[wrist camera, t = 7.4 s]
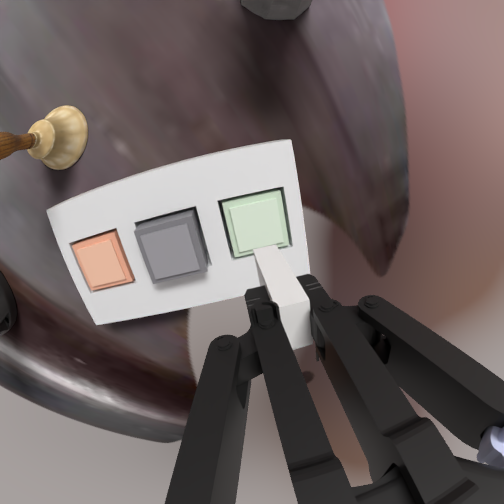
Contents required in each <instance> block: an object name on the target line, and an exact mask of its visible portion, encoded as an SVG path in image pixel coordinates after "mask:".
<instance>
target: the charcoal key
mask: <svg viewBox="0 0 504 504" xmlns="http://www.w3.org/2000/svg"><path fill="white" fill-rule="evenodd" d="M134 234H135V237H136V240H137V243H138V246H139V248H140V251H141V254H142V257H143V260H144V262H145V265H146V268H147V270H148V273H149V275H150V278H151V281H152V283H153V284H156V283H161V282H165V281H170V280H174V279H179V278H183V277H187V276H192V275H196V274H200V273H205V272H207V271H208V258H207V255H206V251H205V248H204V244H203V241H202V237H201V233H200V230H199V226H198V222H197V219H196V215H195V211H194V208H193V209H189V210H185V211H181V212H177V213H174V214H170V215H166V216H162V217H159V218H155V219H151V220H148V221H144V222H141V223H140V224H139V225H138V227H137V228H136V229H135V230H134Z"/></svg>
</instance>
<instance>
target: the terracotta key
mask: <svg viewBox="0 0 504 504" xmlns="http://www.w3.org/2000/svg"><path fill="white" fill-rule="evenodd" d="M72 247H73V250H74V252H75V255H76V257H77V259H78V262H79V264H80V267H81V269H82V271H83V273H84V276H85V278H86V280H87V282H88V285H89V287H90V289H91V291H92V290H97V289H101V288H105V287H110V286H114V285H118V284H123V283H127V282H131V281H133V280H134V278H135V277H134V274H133V272H132V269H131V267H130V264H129V262H128V259H127V256H126V254H125V251H124V248H123V246H122V243H121V240H120V237H119V234H118V232H117V229H116V228H114V229H111V230H108V231H105V232H101V233H98V234H95V235H92V236H89V237H86V238H83V239H80V240H78V241H77V242H76V243H75V244H74V245H72Z"/></svg>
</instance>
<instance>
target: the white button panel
mask: <svg viewBox="0 0 504 504" xmlns="http://www.w3.org/2000/svg"><path fill="white" fill-rule="evenodd" d="M273 188H277V189H279V190H280V191H281V196H282V202H283V208H284V215H285V221H286V227H287V233H288V240H289V245H286V246H282V247H278V249H279V250H280V252H281V254H282V255H283V257H284V258H285V260H286V262H287V263H288V265H289V267H290V268H291V270H292V271H293V273H294V275H295V276H296V277H297V276H301V275H305V274H310V268H309V258H308V250H307V242H306V233H305V226H304V219H303V211H302V204H301V197H300V190H299V184H298V177H297V171H296V165H295V159H294V153H293V147H292V142H291V140H276V141H270V142H264V143H258V144H253V145H248V146H243V147H238V148H233V149H229V150H224V151H219V152H215V153H211V154H207V155H203V156H198V157H194V158H191V159H187V160H183V161H179V162H176V163H172V164H168V165H165V166H161V167H158V168H155V169H151V170H148V171H145V172H142V173H139V174H135V175H132V176H129V177H126V178H123V179H120V180H118V181H115V182H112V183H109V184H106V185H103V186H101V187H98V188H95V189H93V190H90V191H88V192H85V193H82V194H80V195H77V196H75V197H72V198H70V199H68V200H65V201H63V202H61V203H59V204H57V205H55V206H53V207H51V208H50V209H48V210H46V211H47V214H48V217H49V220H50V223H51V226H52V229H53V232H54V234H55V237H56V240H57V242H58V245H59V247H60V250H61V253H62V255H63V257H64V260H65V262H66V265H67V267H68V269H69V271H70V274H71V276H72V278H73V280H74V282H75V285H76V287H77V289H78V291H79V293H80V295H81V297H82V299H83V301H84V303H85V305H86V307H87V309H88V311H89V313H90V314H91V316H92V318H93V320H94V322H95V324H96V325H100V324H106V323H112V322H118V321H124V320H129V319H135V318H140V317H145V316H151V315H156V314H161V313H166V312H171V311H176V310H181V309H186V308H191V307H195V306H200V305H205V304H209V303H214V302H218V301H223V300H227V299H232V298H236V297H240V296H244V295H245V293H246V290H247V289H251V288H255V287H259V286H260V283H259V278H258V273H257V268H256V263H255V258H254V253H252V254H248V255H243V256H239V257H235V256H234V251H233V247H232V243H231V239H230V235H229V231H228V227H227V222H226V218H225V214H224V210H223V205H222V199H227V198H231V197H236V196H240V195H244V194H249V193H254V192H258V191H263V190H268V189H273ZM193 208H194V211H195V215H196V219H197V222H198V226H199V230H200V233H201V237H202V241H203V244H204V248H205V251H206V255H207V258H208V271H207V272H205V273H200V274H196V275H192V276H187V277H183V278H179V279H174V280H170V281H165V282H161V283H156V284H153V283H152V281H151V278H150V275H149V273H148V270H147V268H146V265H145V262H144V260H143V257H142V254H141V251H140V248H139V246H138V243H137V240H136V237H135V234H134V230H135V229H136V228H137V227H138V225H139V224H140V223H141V222H144V221H148V220H151V219H155V218H159V217H162V216H166V215H170V214H174V213H177V212H181V211H185V210H189V209H193ZM114 228H116V229H117V232H118V234H119V237H120V240H121V243H122V246H123V248H124V251H125V254H126V256H127V259H128V262H129V264H130V267H131V269H132V272H133V274H134V277H135V278H134V280H133V281H131V282H127V283H123V284H118V285H114V286H110V287H105V288H101V289H97V290H92V291H91V289H90V287H89V285H88V282H87V280H86V278H85V276H84V273H83V271H82V269H81V267H80V264H79V262H78V259H77V257H76V255H75V252H74V250H73V247H72V245H74V244H75V243H76V242H77V241H78V240H80V239H83V238H86V237H89V236H92V235H95V234H98V233H101V232H105V231H108V230H111V229H114Z"/></svg>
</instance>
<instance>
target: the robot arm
mask: <svg viewBox="0 0 504 504" xmlns="http://www.w3.org/2000/svg"><path fill="white" fill-rule="evenodd" d="M253 253H254V258H255V263H256V268H257V273H258V278H259V283H260V286H259V287H255V288H251V289H247V290H246V293H245V295H244V296H245V300H246V304H247V309H248V313H249V318H250V322H251V327H250V329H249V330H248V332H247V333H245V334H244V335H242V336H240V337H238V338H237V337H235V336H233V335H222V336H219V337H217V338H215V339H214V340H213V341H212V342H211V344H210V346H209V348H208V352H207V355H206V359H205V362H204V365H203V369H202V373H201V376H200V379H199V382H198V386H197V389H196V393H195V396H194V400H193V403H192V407H191V410H190V414H189V417H188V421H187V424H186V428H185V431H184V435H183V438H182V442H181V446H180V449H179V453H178V456H177V460H176V464H175V467H174V471H173V475H172V478H171V482H170V486H169V489H168V493H167V497H166V501H165V504H235V502H236V495H237V487H238V480H239V473H240V466H241V458H242V450H243V443H244V435H245V426H246V420H247V411H248V403H249V395H250V387H251V379H253V378H255V377H257V376H258V375H260V374H262V373H263V374H264V378H265V382H266V386H267V390H268V394H269V397H270V402H271V405H272V409H273V413H274V417H275V421H276V424H277V428H278V432H279V436H280V440H281V443H282V447H283V451H284V454H285V458H286V462H287V465H288V469H289V473H290V477H291V480H292V483H293V487H294V491H295V494H296V498H297V501H298V504H504V381H503V380H502V379H501V378H499V377H498V376H496V375H495V374H494V373H492V372H491V371H489V370H488V369H487V368H485V367H484V366H483V365H481V364H480V363H478V362H477V361H475V360H474V359H473V358H471V357H470V356H468V355H467V354H465V353H464V352H462V351H461V350H460V349H458V348H457V347H455V346H454V345H452V344H451V343H449V342H448V341H447V340H445V339H444V338H442V337H441V336H439V335H438V334H436V333H435V332H433V331H432V330H430V329H429V328H427V327H426V326H424V325H423V324H421V323H420V322H418V321H417V320H415V319H414V318H412V317H410V316H409V315H408V314H406V313H404V312H403V311H401V310H400V309H399V308H397V307H395V306H394V305H392V304H391V303H389V302H388V301H386V300H385V299H383V298H381V297H379V296H375V295H369V296H365V297H362V298H361V299H360V300H359V302H358V305H357V306H342V305H341V304H340V303H339V302H338V301H336V300H333V299H331V298H330V297H329V296H328V294H327V293H326V291H325V290H324V289H323V287H322V286H321V285H320V283H319V282H318V280H317V279H316V278H315V277H314V276H312V275H310V274H305V275H301V276H297V277H296V276H295V275H294V273H293V271H292V270H291V268H290V267H289V265H288V263H287V262H286V260H285V258H284V257H283V255H282V254H281V252H280V250H279V249H278V247H277V245H276V244H275V245H270V246H266V247H262V248H257V249H253ZM16 318H17V308H16V303H15V299H14V296H13V293H12V291H11V289H10V287H9V285H8V283H7V281H6V279H5V278H4V276H3V275H2V273H1V272H0V336H1V335H3V334H5V333H6V332H8V331H9V330H10V329H11V327H12V326H13V325H14V323H15V321H16ZM382 334H383V335H384V336H383V335H382ZM312 337H313V339H314V341H315V344H316V360H317V361H319V358H320V360H321V362H322V364H323V366H324V368H325V370H326V373H327V375H328V377H329V379H330V381H331V383H332V385H333V387H334V389H335V392H336V394H337V396H338V398H339V400H340V402H341V404H342V406H343V409H344V411H345V413H346V415H347V417H348V419H349V421H350V423H351V425H352V428H353V430H354V432H355V434H356V437H357V439H358V441H359V443H360V445H361V447H362V450H363V452H364V454H365V456H366V458H367V461H368V464H369V471H370V476H371V479H372V481H373V484H368V485H363V486H358V487H351V486H350V483H349V481H348V478H347V476H346V474H345V471H344V468H343V466H342V464H341V462H340V460H339V459H338V458H337V457H336V456H335V455H334V453H333V450H332V448H331V445H330V443H329V441H328V438H327V435H326V433H325V430H324V428H323V425H322V423H321V420H320V417H319V415H318V413H317V410H316V408H315V405H314V402H313V400H312V398H311V395H310V392H309V390H308V387H307V385H306V382H305V380H304V377H303V375H302V372H301V369H300V367H299V364H298V362H297V360H296V357H295V354H294V352H293V350H294V349H297V348H301V347H304V346H308V345H311V344H313V339H312ZM399 387H401V388H402V389H403V390H404V391H405V392H406V393H407V394H408V395H409V396H411V397H412V398H413V399H414V400H415V401H416V402H418V404H420V405H421V406H422V407H423V408H424V409H425V410H427V411H428V412H429V413H430V414H431V415H432V416H433V417H434V418H435V419H437V420H438V421H439V422H440V423H441V424H442V425H443V426H444V427H446V428H447V429H448V430H449V431H450V432H451V433H452V434H453V435H455V436H456V437H457V438H458V439H460V440H461V441H462V442H464V443H465V444H467V445H469V446H471V447H472V448H475V449H477V450H479V452H478V454H477V460H478V461H479V462H480V463H479V462H474V461H471V460H467V459H463V458H460V457H456V456H454V455H453V453H452V452H451V450H450V449H449V447H448V445H447V444H446V443H445V440H444V439H443V437H442V436H441V434H440V433H439V431H438V429H437V428H436V426H435V425H434V423H433V422H432V421H431V420H430V419H428V418H425V417H424V418H421V417H419V416H418V415H417V414H416V412H415V411H414V409H413V408H412V406H411V405H410V403H409V402H408V400H407V398H406V397H405V395H404V394H403V392H402V391H401V389H400V388H399ZM484 462H486V463H487V464H488V465H487V464H482V463H484Z"/></svg>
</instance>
